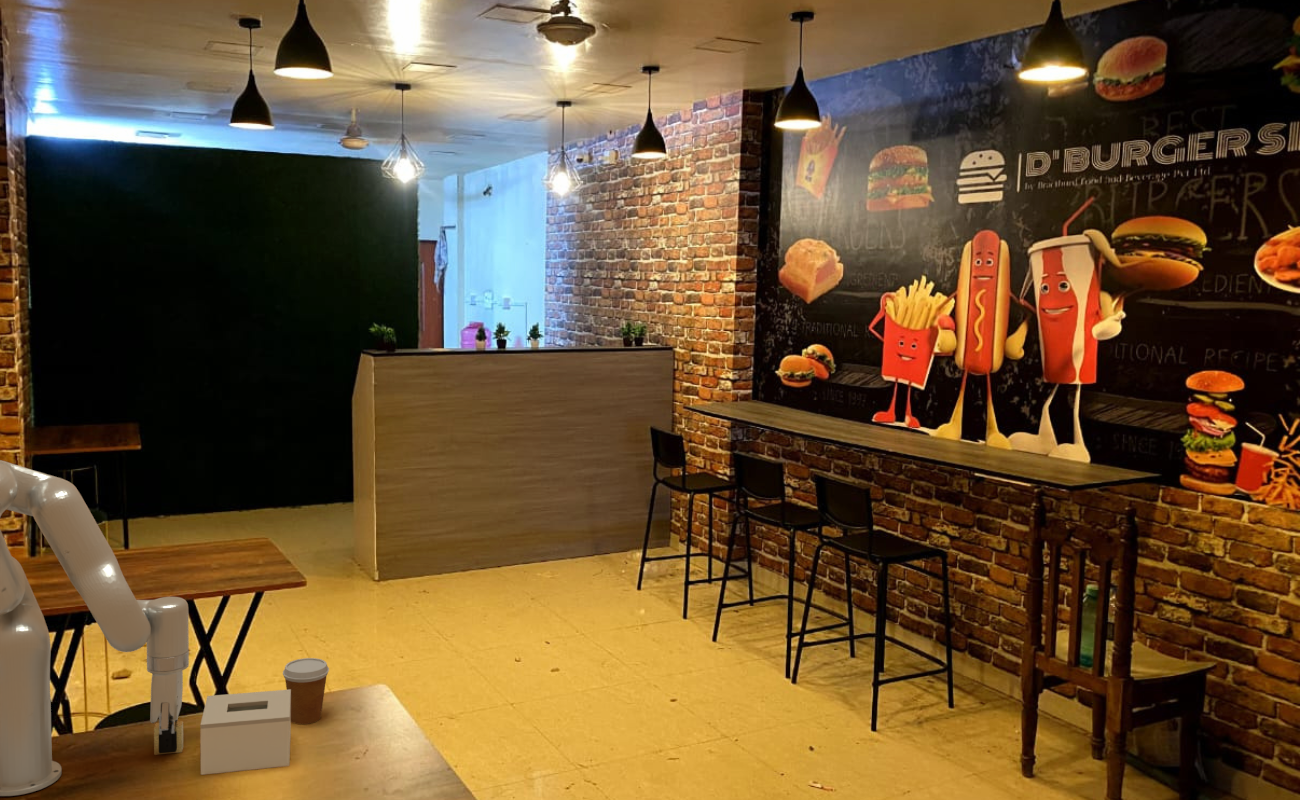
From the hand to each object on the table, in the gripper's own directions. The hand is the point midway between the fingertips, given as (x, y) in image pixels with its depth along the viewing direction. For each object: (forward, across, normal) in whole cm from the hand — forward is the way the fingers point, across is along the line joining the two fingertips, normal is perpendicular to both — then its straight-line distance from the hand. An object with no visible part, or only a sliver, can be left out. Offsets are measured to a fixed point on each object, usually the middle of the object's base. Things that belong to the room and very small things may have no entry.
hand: (168, 748), depth 205 cm
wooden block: (+1, 0, 0) cm, 1 cm away
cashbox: (+1, +5, +15) cm, 16 cm away
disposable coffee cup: (+1, -10, +26) cm, 28 cm away
